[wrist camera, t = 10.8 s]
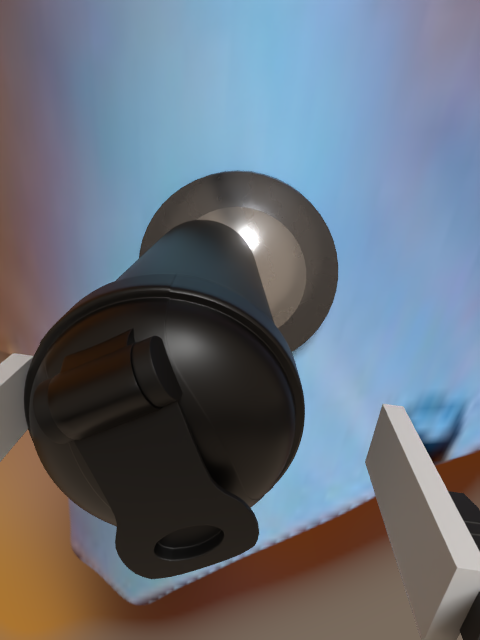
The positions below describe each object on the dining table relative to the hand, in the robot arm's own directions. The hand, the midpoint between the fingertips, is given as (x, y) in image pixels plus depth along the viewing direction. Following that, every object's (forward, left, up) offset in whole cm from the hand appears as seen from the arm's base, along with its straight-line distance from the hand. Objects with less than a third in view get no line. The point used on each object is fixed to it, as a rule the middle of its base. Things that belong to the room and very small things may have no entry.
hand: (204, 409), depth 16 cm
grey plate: (0, 0, -21) cm, 21 cm away
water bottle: (0, -3, -19) cm, 19 cm away
